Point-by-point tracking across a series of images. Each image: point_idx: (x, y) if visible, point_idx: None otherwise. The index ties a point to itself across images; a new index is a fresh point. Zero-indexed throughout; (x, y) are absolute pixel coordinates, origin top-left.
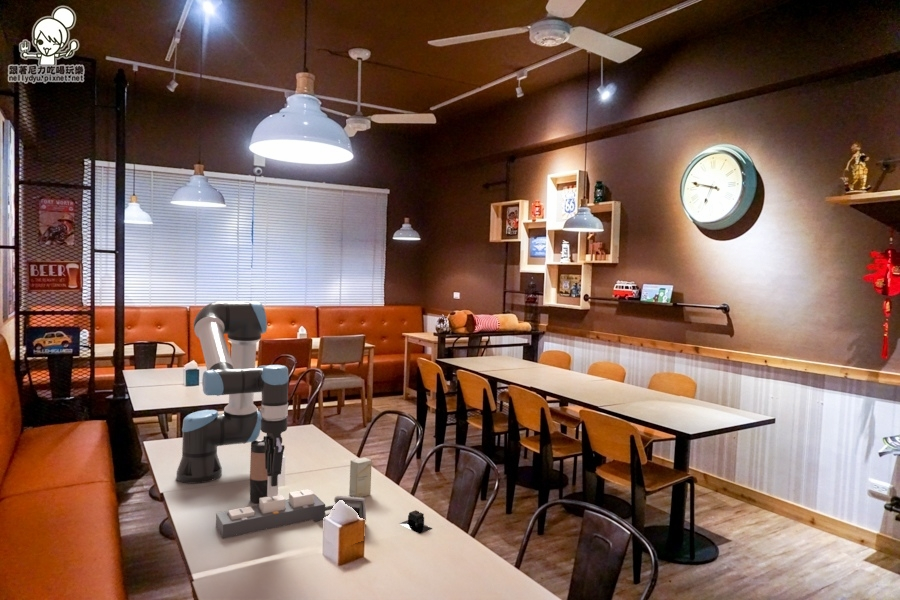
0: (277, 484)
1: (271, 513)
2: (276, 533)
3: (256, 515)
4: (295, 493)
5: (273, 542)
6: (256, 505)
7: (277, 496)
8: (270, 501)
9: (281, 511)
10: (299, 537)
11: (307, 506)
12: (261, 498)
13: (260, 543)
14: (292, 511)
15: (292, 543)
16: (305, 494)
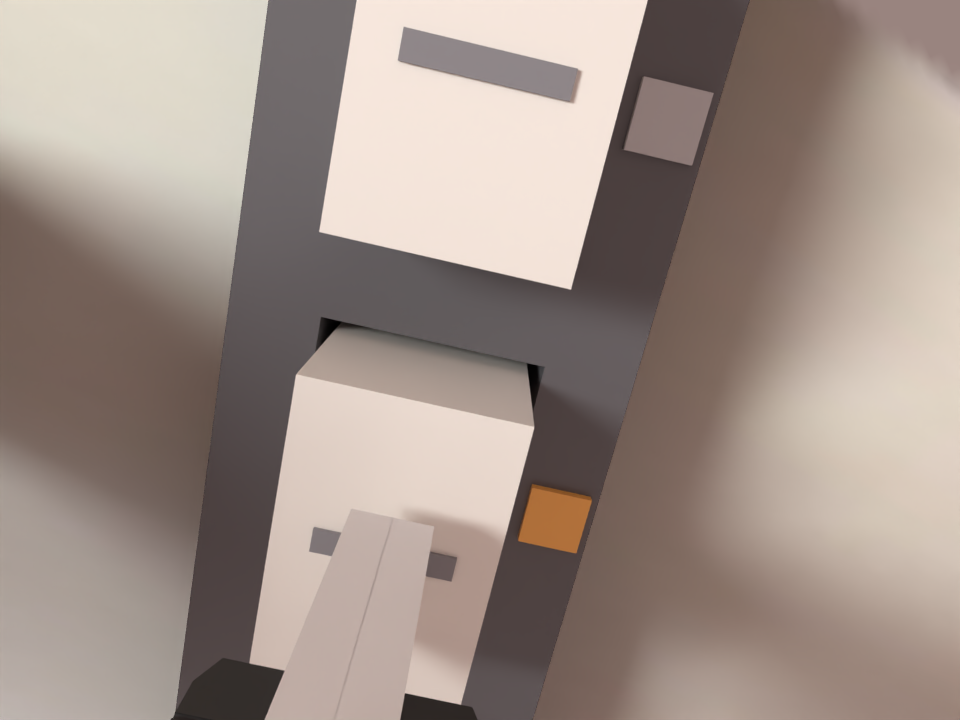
0: (407, 663)
1: (535, 560)
2: (623, 467)
3: (472, 696)
4: (424, 163)
5: (758, 569)
6: (202, 573)
7: (355, 460)
8: (466, 622)
9: (568, 449)
10: (860, 355)
11: (698, 101)
12: (280, 654)
13: (692, 648)
14: (648, 332)
15: (907, 465)
16: (591, 41)
